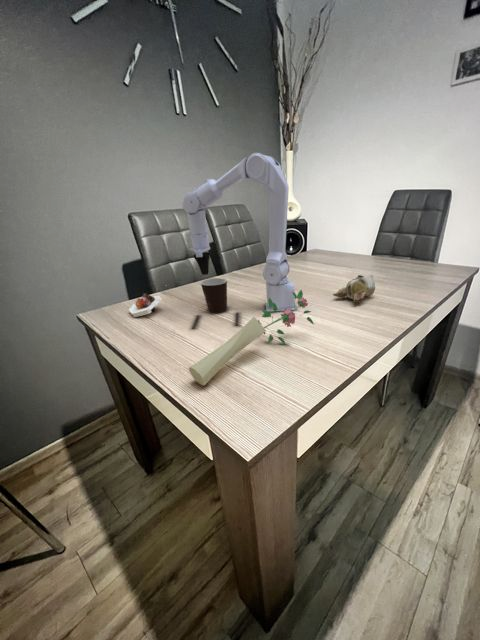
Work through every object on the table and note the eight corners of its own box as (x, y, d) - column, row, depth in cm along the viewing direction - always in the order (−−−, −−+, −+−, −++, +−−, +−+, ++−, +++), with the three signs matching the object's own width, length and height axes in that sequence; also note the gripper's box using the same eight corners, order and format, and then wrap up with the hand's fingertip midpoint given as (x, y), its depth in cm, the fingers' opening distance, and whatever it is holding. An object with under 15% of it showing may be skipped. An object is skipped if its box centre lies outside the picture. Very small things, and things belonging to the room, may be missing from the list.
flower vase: (203, 401, 64) (290, 323, 82) (232, 413, 55) (323, 321, 73) (176, 361, 60) (274, 287, 77) (203, 367, 50) (308, 281, 68)
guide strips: (238, 313, 92) (238, 312, 92) (238, 325, 83) (238, 324, 83) (197, 316, 91) (196, 315, 91) (192, 328, 83) (192, 327, 83)
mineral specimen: (171, 305, 96) (160, 287, 92) (145, 325, 91) (132, 307, 87) (156, 301, 104) (145, 284, 100) (131, 319, 99) (118, 303, 95)
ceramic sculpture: (385, 272, 94) (357, 284, 87) (382, 296, 98) (355, 309, 91) (360, 268, 101) (331, 278, 95) (358, 290, 106) (331, 301, 99)
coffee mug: (225, 315, 91) (221, 285, 86) (201, 314, 93) (196, 285, 88) (235, 303, 101) (232, 276, 96) (213, 302, 103) (209, 276, 98)
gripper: (190, 232, 98) (197, 270, 105) (183, 237, 86) (191, 280, 93) (210, 230, 99) (215, 268, 105) (205, 235, 86) (211, 278, 93)
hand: (205, 274), depth 99 cm, fingers closed
